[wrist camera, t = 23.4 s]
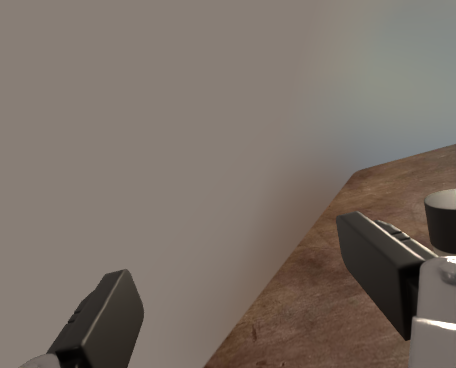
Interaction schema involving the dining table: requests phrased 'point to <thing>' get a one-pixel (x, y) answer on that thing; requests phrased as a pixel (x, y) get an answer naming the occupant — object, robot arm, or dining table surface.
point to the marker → (442, 222)
